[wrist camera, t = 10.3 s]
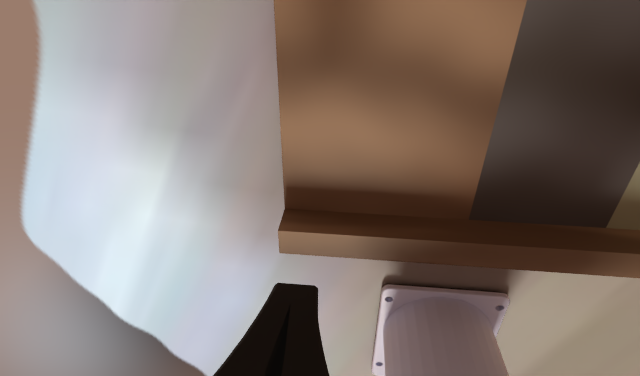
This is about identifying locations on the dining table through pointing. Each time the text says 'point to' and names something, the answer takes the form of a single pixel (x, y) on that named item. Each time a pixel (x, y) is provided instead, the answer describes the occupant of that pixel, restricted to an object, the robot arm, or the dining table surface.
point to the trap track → (462, 132)
